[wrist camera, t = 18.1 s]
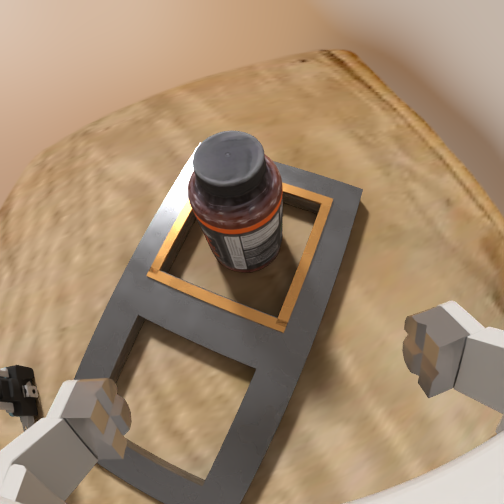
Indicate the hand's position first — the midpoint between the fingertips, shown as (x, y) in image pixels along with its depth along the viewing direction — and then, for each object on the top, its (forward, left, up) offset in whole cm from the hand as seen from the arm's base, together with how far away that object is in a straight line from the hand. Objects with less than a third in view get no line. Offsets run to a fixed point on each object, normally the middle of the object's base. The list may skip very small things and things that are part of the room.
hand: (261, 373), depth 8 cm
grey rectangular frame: (-6, +2, -16) cm, 17 cm away
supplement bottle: (-6, +10, -16) cm, 20 cm away
